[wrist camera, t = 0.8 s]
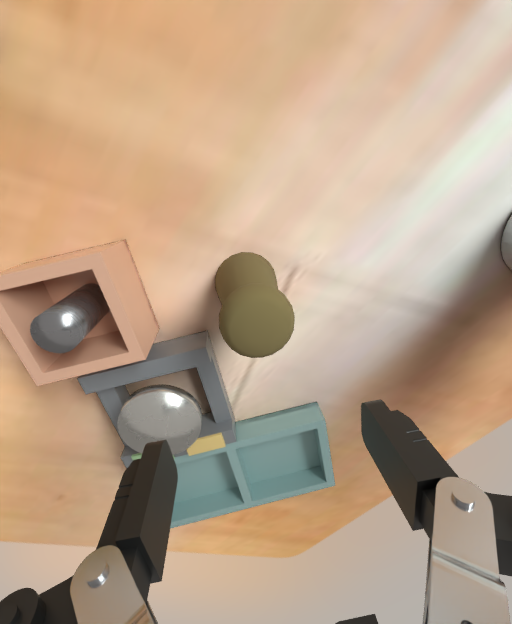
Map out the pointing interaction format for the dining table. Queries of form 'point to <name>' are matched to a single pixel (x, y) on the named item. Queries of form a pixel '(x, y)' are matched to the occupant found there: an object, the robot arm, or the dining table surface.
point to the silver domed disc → (160, 418)
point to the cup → (60, 283)
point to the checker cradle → (161, 362)
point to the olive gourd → (252, 306)
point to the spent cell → (69, 319)
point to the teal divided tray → (256, 466)
